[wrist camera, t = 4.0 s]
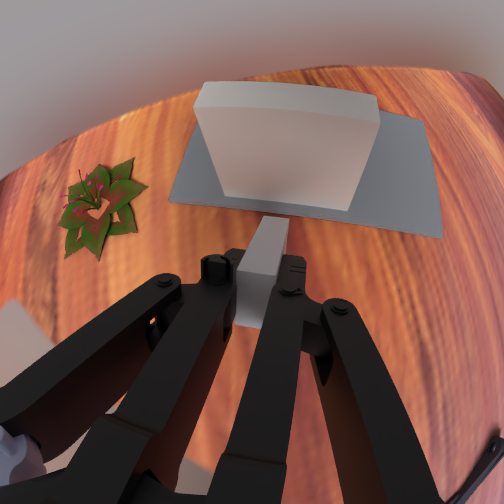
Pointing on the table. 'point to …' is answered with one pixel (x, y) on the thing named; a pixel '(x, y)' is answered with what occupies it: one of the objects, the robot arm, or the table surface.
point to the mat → (367, 192)
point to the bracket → (481, 470)
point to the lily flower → (91, 190)
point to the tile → (287, 140)
